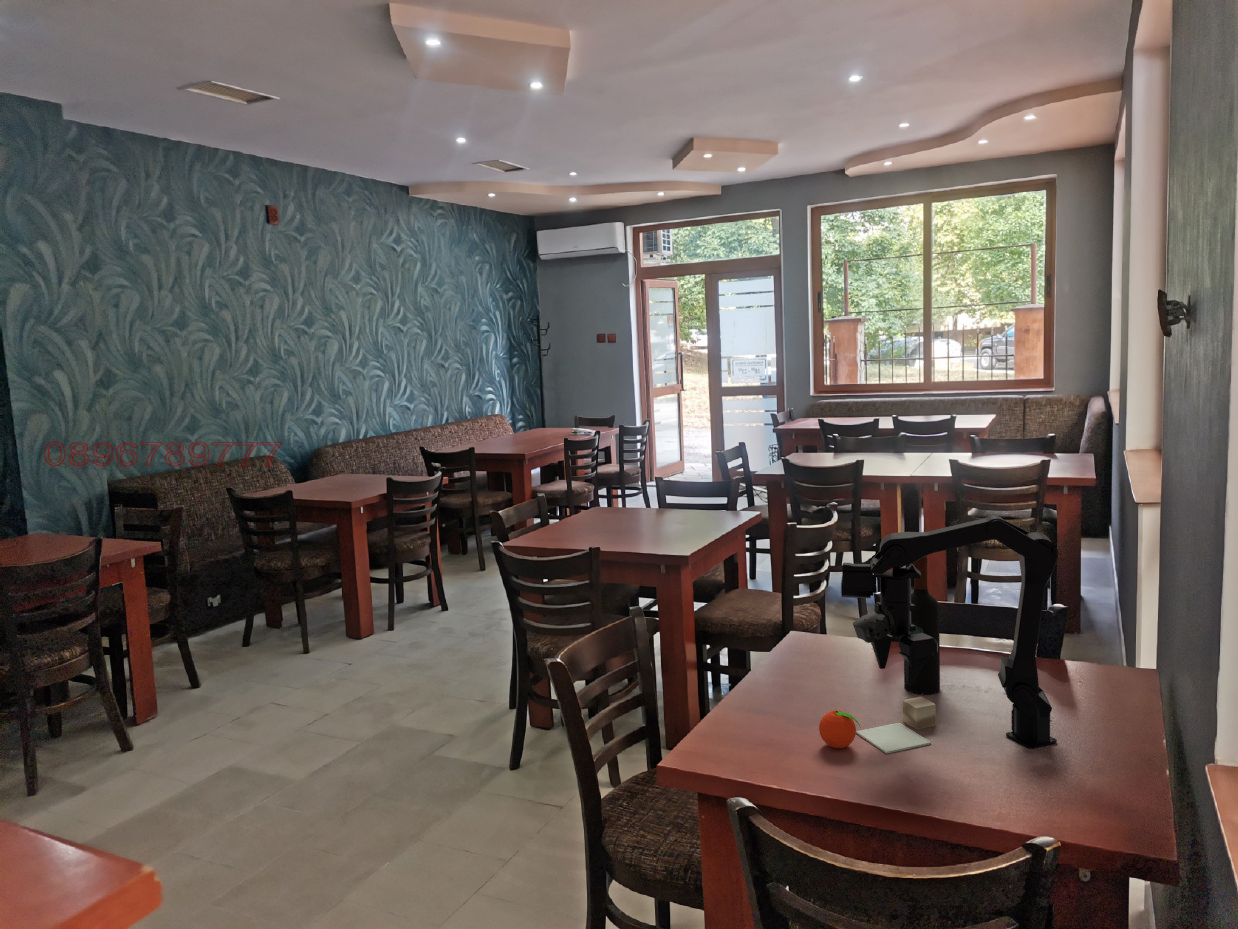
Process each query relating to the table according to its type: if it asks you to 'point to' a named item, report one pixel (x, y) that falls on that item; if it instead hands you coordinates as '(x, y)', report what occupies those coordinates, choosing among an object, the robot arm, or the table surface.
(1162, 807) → the table surface
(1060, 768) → the table surface
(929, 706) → the sandy foam cube
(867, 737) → the pad
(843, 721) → the clementine
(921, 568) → the wine bottle
